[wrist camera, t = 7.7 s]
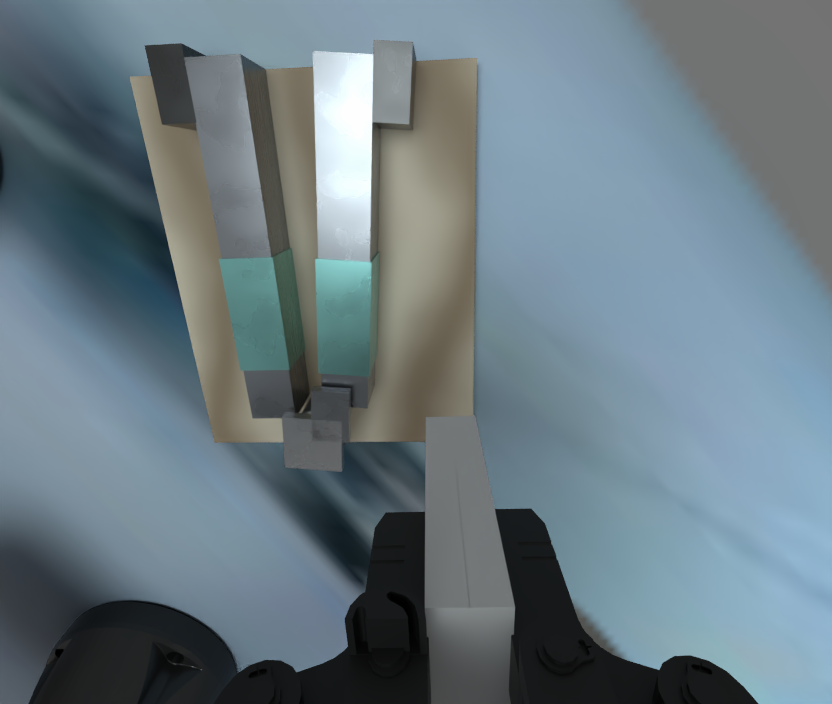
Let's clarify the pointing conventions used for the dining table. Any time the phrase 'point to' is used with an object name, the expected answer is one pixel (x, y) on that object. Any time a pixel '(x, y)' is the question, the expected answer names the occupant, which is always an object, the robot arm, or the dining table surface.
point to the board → (397, 243)
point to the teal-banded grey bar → (242, 213)
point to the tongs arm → (348, 238)
